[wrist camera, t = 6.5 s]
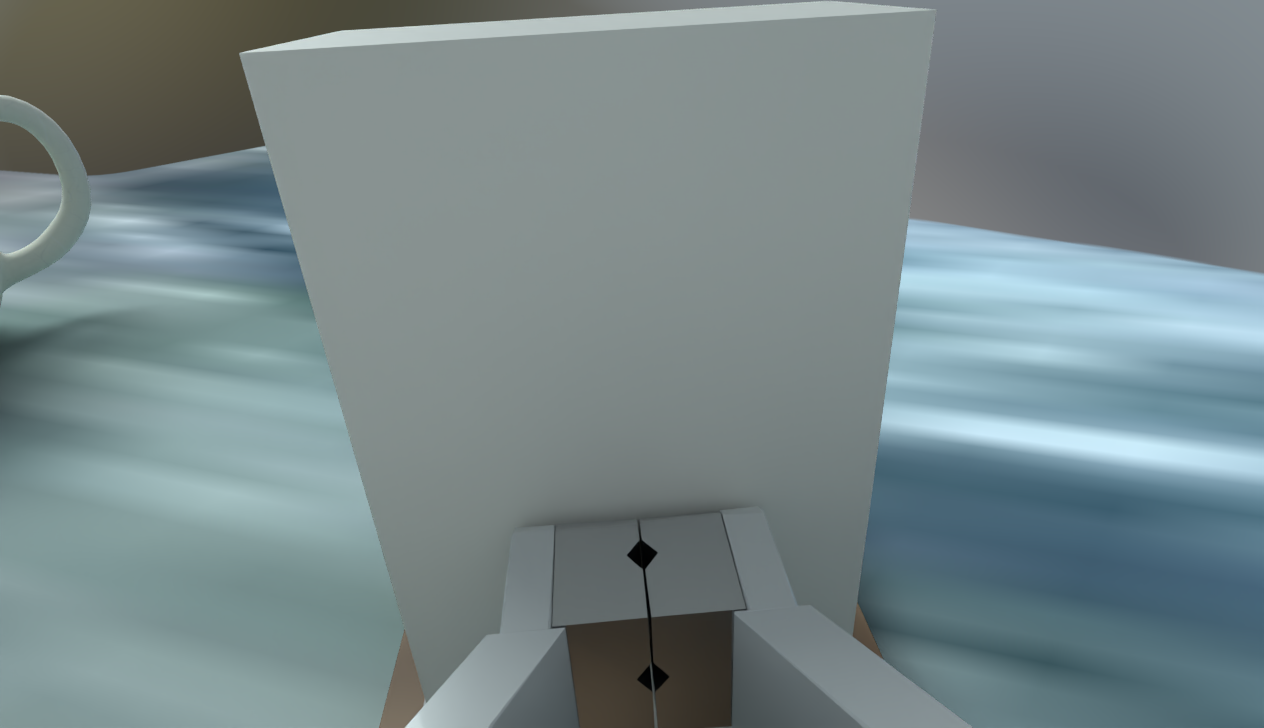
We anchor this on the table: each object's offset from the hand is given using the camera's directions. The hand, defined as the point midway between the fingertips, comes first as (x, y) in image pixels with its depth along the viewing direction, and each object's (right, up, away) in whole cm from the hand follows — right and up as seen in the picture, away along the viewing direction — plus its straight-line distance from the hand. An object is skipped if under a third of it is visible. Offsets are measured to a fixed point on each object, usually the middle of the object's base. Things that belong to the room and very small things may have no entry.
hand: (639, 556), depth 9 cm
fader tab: (0, -4, +4) cm, 6 cm away
